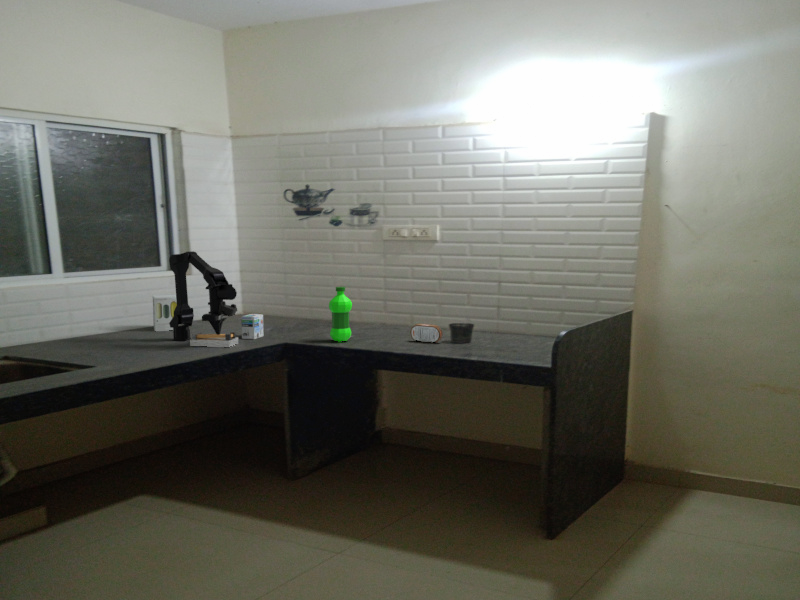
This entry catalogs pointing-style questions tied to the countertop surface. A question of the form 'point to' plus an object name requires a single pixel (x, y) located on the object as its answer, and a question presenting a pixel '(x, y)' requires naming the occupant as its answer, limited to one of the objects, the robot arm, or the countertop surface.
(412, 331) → the tin
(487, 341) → the countertop surface
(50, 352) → the countertop surface
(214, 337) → the bar
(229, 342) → the grey fixture base
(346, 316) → the plastic bottle
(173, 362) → the countertop surface
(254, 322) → the light bulb box
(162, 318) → the supplement box
